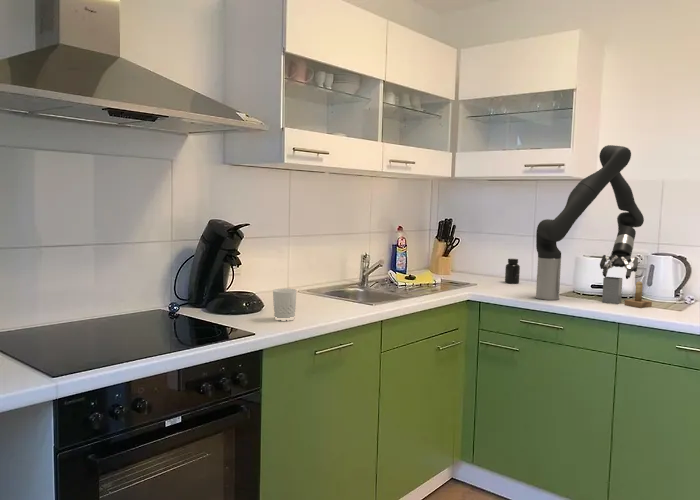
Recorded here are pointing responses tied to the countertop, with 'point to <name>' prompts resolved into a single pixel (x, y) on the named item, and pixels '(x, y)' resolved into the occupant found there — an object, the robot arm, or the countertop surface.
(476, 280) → the countertop surface
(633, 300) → the post
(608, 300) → the sleeve
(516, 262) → the supplement bottle
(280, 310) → the white cup
